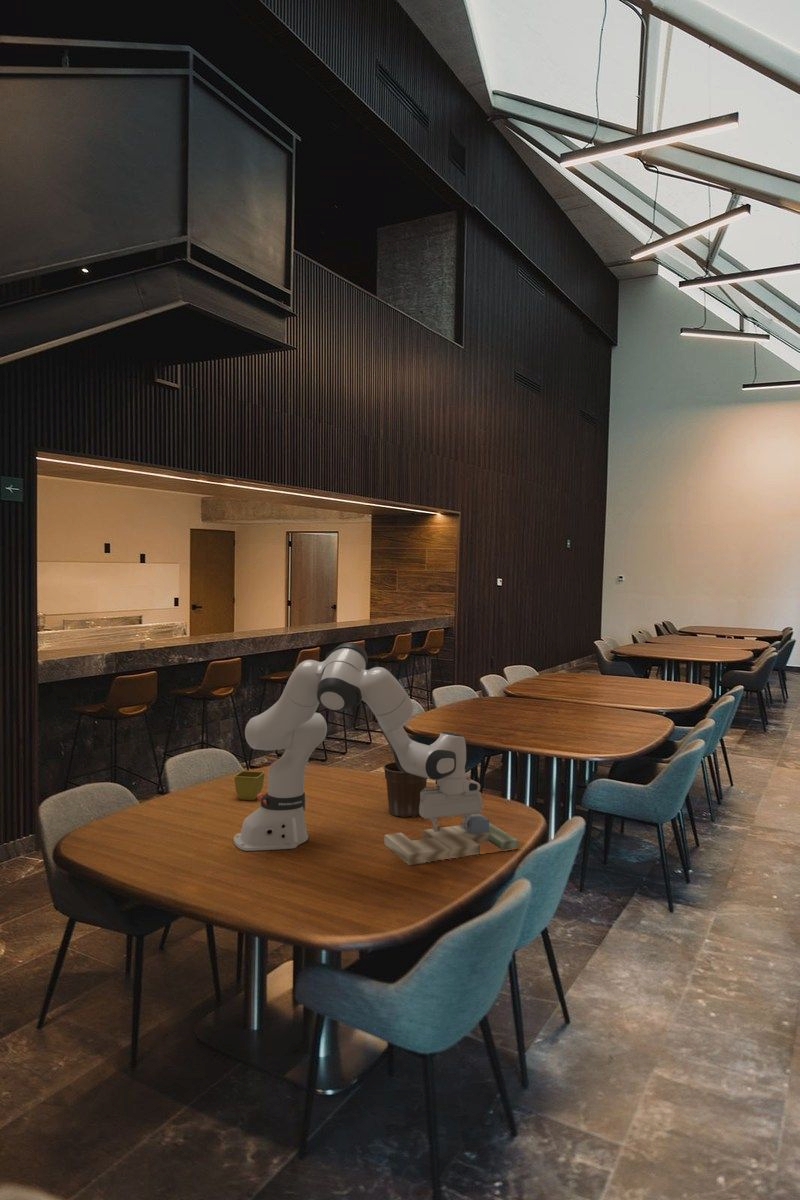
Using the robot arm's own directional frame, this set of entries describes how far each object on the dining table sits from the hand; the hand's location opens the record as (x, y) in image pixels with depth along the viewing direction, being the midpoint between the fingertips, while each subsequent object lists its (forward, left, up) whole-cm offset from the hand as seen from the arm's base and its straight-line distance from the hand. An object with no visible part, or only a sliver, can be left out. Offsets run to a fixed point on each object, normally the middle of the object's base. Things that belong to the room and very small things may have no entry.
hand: (450, 829), depth 234 cm
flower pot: (-47, +67, -5) cm, 82 cm away
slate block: (+9, 0, -1) cm, 9 cm away
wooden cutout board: (-1, -3, -4) cm, 5 cm away
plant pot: (0, +33, -5) cm, 33 cm away
